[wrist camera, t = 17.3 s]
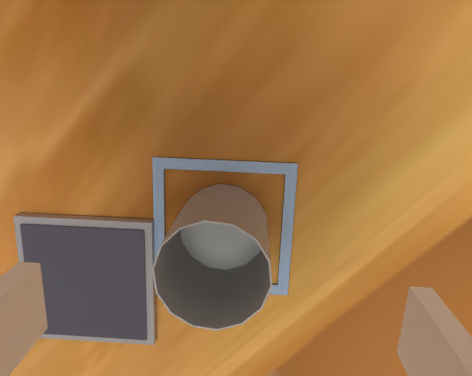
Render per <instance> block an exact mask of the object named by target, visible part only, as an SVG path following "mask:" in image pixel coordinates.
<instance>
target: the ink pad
mask: <svg viewBox="0 0 472 376" xmlns="http://www.w3.org/2000/svg"><path fill="white" fill-rule="evenodd" d="M14 224H15V233H16V241H17V250H18V258H19V262H32V263H40V266H41V274H42V283H43V291H44V300H45V308H46V317H47V325H48V328H47V330H46V331H45V332H44V333H43V335H42V336H41V337H40V338H52V339H68V340H84V341H100V342H116V343H132V344H148V345H154V344H155V342H156V339H157V329H156V291H155V285H154V278H153V272H152V267H153V264H154V219H136V218H117V217H97V216H77V215H57V214H38V213H18V214H16V215H14Z"/></svg>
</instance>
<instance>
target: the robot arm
mask: <svg viewBox="0 0 472 376" xmlns="http://www.w3.org/2000/svg"><path fill="white" fill-rule="evenodd" d="M47 328H48V325H47V317H46V308H45V300H44V291H43V283H42V274H41V266H40V263H32V262H18V263H17V264H16V265H15V266H14V267H12V268H11V269H10V270H9V271H7V272H6V273H5V274H4V275H2V276H1V277H0V376H9V375H10V374H11V373H12V371H13V370H14V369H15V368H16V367H17V365H18V364H19V363H20V362H21V360H22V359H23V358H24V357H25V355H26V354H27V353H28V352H29V351H30V349H31V348H32V347H33V346H34V344H35V343H36V342H37V341H38V340H39V338H40V337H41V336H42V335H43V333H44V332H45V331H46V330H47ZM397 354H398V356H399V358H400V360H401V362H402V364H403V366H404V368H405V370H406V372H407V374H408V376H472V337H471V336H470V335H469V334H468V332H467V331H466V330H465V328H464V327H463V326H462V325H461V323H460V322H459V321H458V320H457V319H456V317H455V316H454V315H453V314H452V312H451V311H450V310H449V308H448V307H447V306H446V305H445V303H444V302H443V301H442V300H441V298H440V297H439V296H438V295H437V293H436V292H435V291H434V290H433V288H426V287H410V288H409V293H408V298H407V303H406V308H405V314H404V319H403V324H402V329H401V334H400V339H399V344H398V350H397Z"/></svg>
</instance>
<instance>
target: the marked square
mask: <svg viewBox="0 0 472 376" xmlns="http://www.w3.org/2000/svg"><path fill="white" fill-rule="evenodd" d="M152 162H153V213H154V262H155V259H156V256H157V253H158V250H159V247H160V245H161V243H162V241H163V240H164V238H165V182H164V169H180V170H202V171H224V172H246V173H268V174H285V188H284V202H283V217H282V231H281V245H280V259H279V273H278V284H272V288H271V290H270V293H269V294H274V295H288V284H289V271H290V258H291V245H292V233H293V220H294V207H295V194H296V182H297V169H298V163H282V162H260V161H238V160H215V159H193V158H170V157H152Z"/></svg>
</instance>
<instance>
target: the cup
mask: <svg viewBox="0 0 472 376" xmlns="http://www.w3.org/2000/svg"><path fill="white" fill-rule="evenodd" d="M152 272H153V278H154V285H155V291H156V294H157V295H158V297H159V298H160V300H161V301H162V302H163V304H164V305H165V307H166V308H167V310H168V311H169V312H170V314H172V315H174V316H175V317H177V318H179V319H180V320H182V321H184V322H185V323H187V324H189V325H190V326H192V327H198V328H204V329H211V330H222V329H226V328H230V327H234V326H238V325H242V324H244V323H245V322H246V321H248V320H249V319H250V318H251V317H253V316H254V315H255V314H256V313H257V312H259V311H260V310H261V309H262V308H263V306H264V304H265V301H266V299H267V297H268V295H269V293H270V290H271V288H272V276H271V262H270V250H269V238H268V226H267V214H266V213H265V211H264V209H263V208H262V206H261V204H260V203H259V201H258V199H257V198H256V197H255V196H253V195H252V194H250V193H249V192H247V191H246V190H244V189H242V188H241V187H239V186H233V185H226V184H216V185H213V186H209V187H206V188H203V189H200V190H199V191H197V192H196V193H195V194H194V195H193V196H192V197H191V198H190V199H189V200H188V201H187V202H186V203H185V204H184V206H183V208H182V209H181V211H180V213H179V215H178V216H177V218H176V220H175V221H174V223H173V225H172V226H171V228H170V230H169V231H168V233H167V235H166V236H165V238H164V240H163V241H162V243H161V245H160V247H159V250H158V253H157V256H156V259H155V262H154V264H153V267H152Z"/></svg>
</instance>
